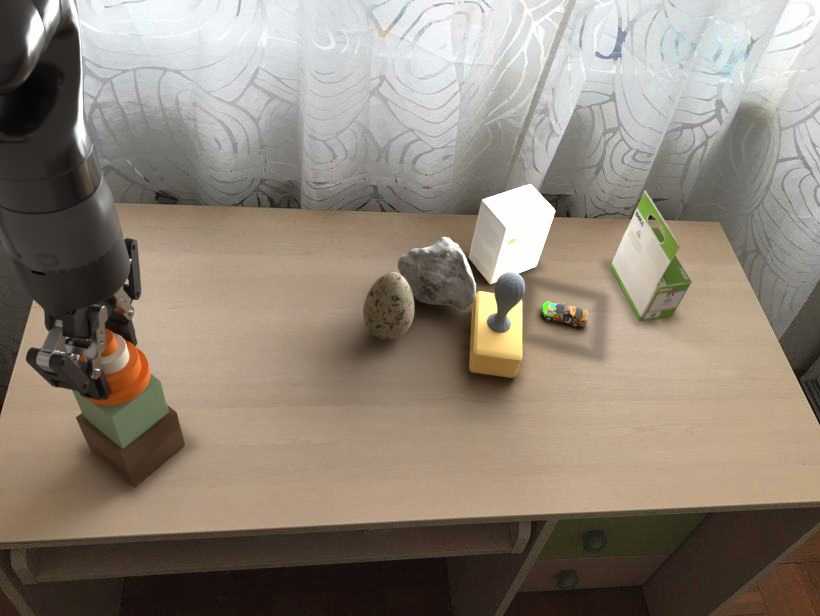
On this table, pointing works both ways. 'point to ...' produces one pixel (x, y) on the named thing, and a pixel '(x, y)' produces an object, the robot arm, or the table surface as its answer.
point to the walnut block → (136, 447)
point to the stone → (439, 274)
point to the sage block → (127, 414)
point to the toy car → (564, 314)
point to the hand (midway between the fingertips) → (111, 369)
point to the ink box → (650, 265)
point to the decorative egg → (389, 307)
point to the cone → (122, 370)
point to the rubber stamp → (498, 328)
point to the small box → (510, 232)
